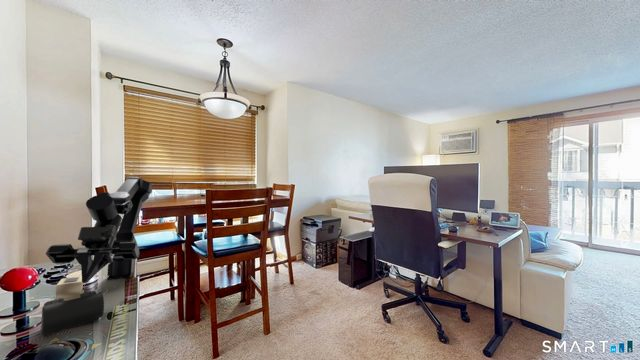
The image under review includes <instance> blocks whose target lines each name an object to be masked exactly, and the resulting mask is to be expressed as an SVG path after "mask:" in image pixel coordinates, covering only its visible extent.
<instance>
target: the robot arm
mask: <svg viewBox="0 0 640 360" xmlns="http://www.w3.org/2000/svg"><path fill="white" fill-rule="evenodd" d="M152 193H153V185H152V184H151V182H149V181H148V180H147V181H146V180H144V179H143V178H142V177H138V176H128V177H127V176H126V177H125V179H124V181H123V183H122V184H121V185H120V186H119V188H118V189H117V190H116V191H114V192H113V193H110V192H108V191H107V192H106V191H104V192H99V194H97V195H93V196H91V197H90V198H89V199H87V200H86V202H85V206H86V208H87V210H88V212H89V214H90V216H91V219H93V220H94V221H96V222H95V224H94V226H84V227H83V226H81V228H80V231H79V232H78V233H79V234H78V237H77V240H78V241H81V242H80V244H81V247H77V248H74V246H73V245H72V244H71V243H69V244H68V243H67V244H66V243H65V244H63V243H61V244H53V245H50V246H49V247H48V248H47V250H46V252H45V255H46V256H47V257H48V258H49V260H50V261H51V262H52V264H56V265H57V264H58V265H59V264H61V265H62V264H70V263H71V262H74V261H75V260H76V261H77V263H78V264H79V265H81V266H80V267H81V270H80V271H81V276H82V282H83V283H85V284H87V283H89V282H90V280H92V279H93V278H94V276H95V275H97V274H98V273H99V272H100V271H101V270H102V269H103V268H105V267H106V266H107V280H112V279H114V280H115V279H116V280H117V279H125V278H130V277H132V275H133V274H134V273H135V269H134V266H135V265H134V264H135V260H136V259H138V258H139V257H140V249H139V245H138V243H137V239H136V237H135V230H136V227H137V223H138V221H139V220H138V219H139V216H140V213H141V208H142V205H143V203H144V202H146V201H147V200H148V199H149V198H150V195H151V194H152ZM121 215H123V216H121Z"/></svg>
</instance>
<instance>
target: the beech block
mask: <svg viewBox="0 0 640 360" xmlns="http://www.w3.org/2000/svg"><path fill="white" fill-rule="evenodd" d="M76 277H77V278H76ZM83 284H84V283H83V282H82V277H80V276H75V277H74V276H71V277H64V278H61V279H60V280H59V282H58V283H57V284H56V286H55V299H54V300H57V299H59V298H60V299H61V298H63V299H64V301H68V300H72V299H76V298H80V294H82V293H85V289H84V290H83ZM84 285H85V284H84Z"/></svg>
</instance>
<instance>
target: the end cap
mask: <svg viewBox="0 0 640 360" xmlns="http://www.w3.org/2000/svg"><path fill="white" fill-rule="evenodd" d="M104 309H105V299H104V295H103V292H96V291H95V290H90V291H87V292H84V293H82V294H80V298H76V299H72V300H68V301H64V299H63V298H61V299H60V298H59V299H57V300H55V299H54V300H49V301H46V302H45V303H44V304H43V306H42V308H41V322H40V323H41V324H40V326H41V327H40V335H41V336H43V337H47V336H50V335H54V334H57V333H59V332H63V331H66V330H70V329H73V328H77V327H80V326H82V325H87V324H89V323H92V322H95V321H98V320H100V318H102V317H103V315H104V311H105V310H104Z"/></svg>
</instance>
